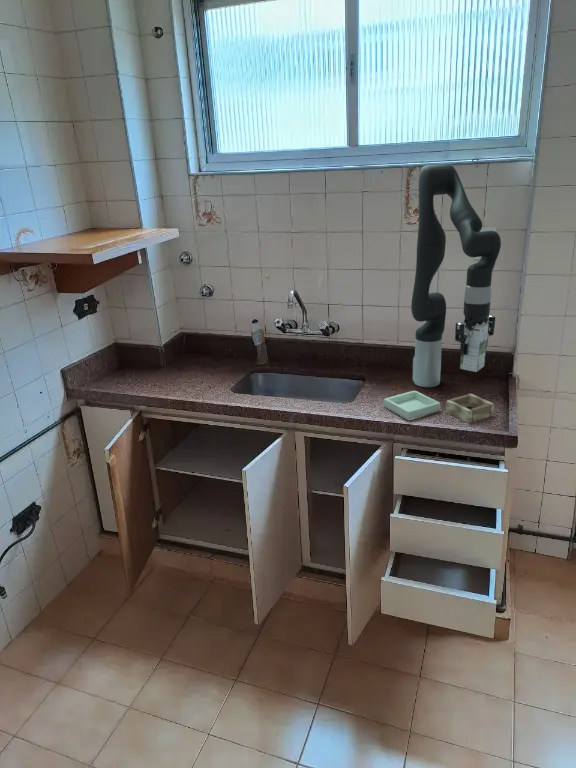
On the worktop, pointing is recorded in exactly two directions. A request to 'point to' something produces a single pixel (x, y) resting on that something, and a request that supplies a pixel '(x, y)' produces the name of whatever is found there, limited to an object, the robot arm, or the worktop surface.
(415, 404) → the tray
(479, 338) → the syrup box
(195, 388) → the worktop surface
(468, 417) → the collar
